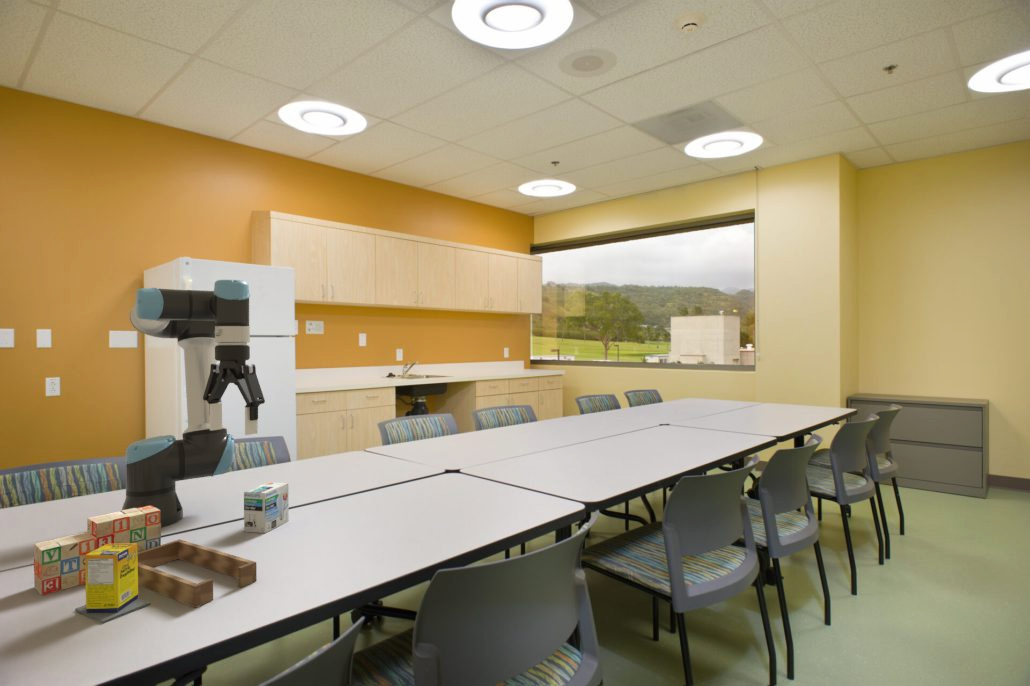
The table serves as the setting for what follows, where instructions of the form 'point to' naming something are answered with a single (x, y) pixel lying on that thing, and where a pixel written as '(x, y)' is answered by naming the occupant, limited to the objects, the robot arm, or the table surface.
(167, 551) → the open wooden frame
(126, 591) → the supplement box
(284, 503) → the light bulb box
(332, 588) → the table surface
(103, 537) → the stack of blocks
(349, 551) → the table surface
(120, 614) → the mat
